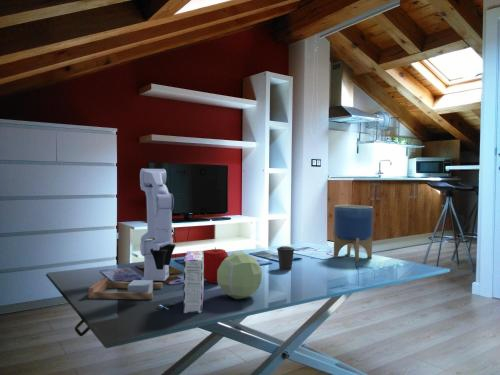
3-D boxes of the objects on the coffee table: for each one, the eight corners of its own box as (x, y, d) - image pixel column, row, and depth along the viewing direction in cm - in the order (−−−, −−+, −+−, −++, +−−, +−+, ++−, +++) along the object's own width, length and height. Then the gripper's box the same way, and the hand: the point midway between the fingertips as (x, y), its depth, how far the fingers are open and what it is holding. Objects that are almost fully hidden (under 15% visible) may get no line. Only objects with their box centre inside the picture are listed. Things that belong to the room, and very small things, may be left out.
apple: (216, 276, 164) (216, 243, 163) (233, 281, 157) (233, 247, 156) (195, 281, 156) (195, 247, 156) (212, 286, 149) (212, 250, 149)
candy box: (186, 299, 134) (186, 250, 134) (203, 298, 135) (204, 250, 134) (182, 313, 121) (183, 259, 120) (202, 313, 121) (202, 259, 120)
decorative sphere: (226, 306, 127) (226, 259, 127) (211, 293, 141) (212, 251, 141) (268, 300, 133) (269, 256, 133) (250, 288, 147) (251, 248, 146)
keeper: (152, 291, 144) (152, 280, 144) (148, 297, 137) (148, 285, 137) (133, 290, 144) (133, 279, 144) (127, 296, 137) (127, 285, 137)
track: (162, 288, 147) (162, 278, 147) (152, 299, 133) (152, 289, 133) (104, 286, 148) (104, 277, 147) (88, 298, 134) (88, 287, 134)
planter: (377, 261, 195) (378, 208, 195) (337, 261, 196) (338, 207, 195) (366, 253, 215) (367, 205, 214) (330, 253, 215) (331, 204, 214)
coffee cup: (273, 270, 176) (274, 247, 176) (279, 266, 184) (279, 244, 183) (291, 272, 173) (291, 249, 173) (296, 268, 181) (296, 246, 180)
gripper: (159, 225, 147) (159, 262, 147) (144, 231, 133) (144, 271, 133) (178, 226, 146) (178, 262, 147) (164, 231, 132) (164, 272, 132)
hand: (163, 267), depth 140 cm, fingers open, 6 cm apart
